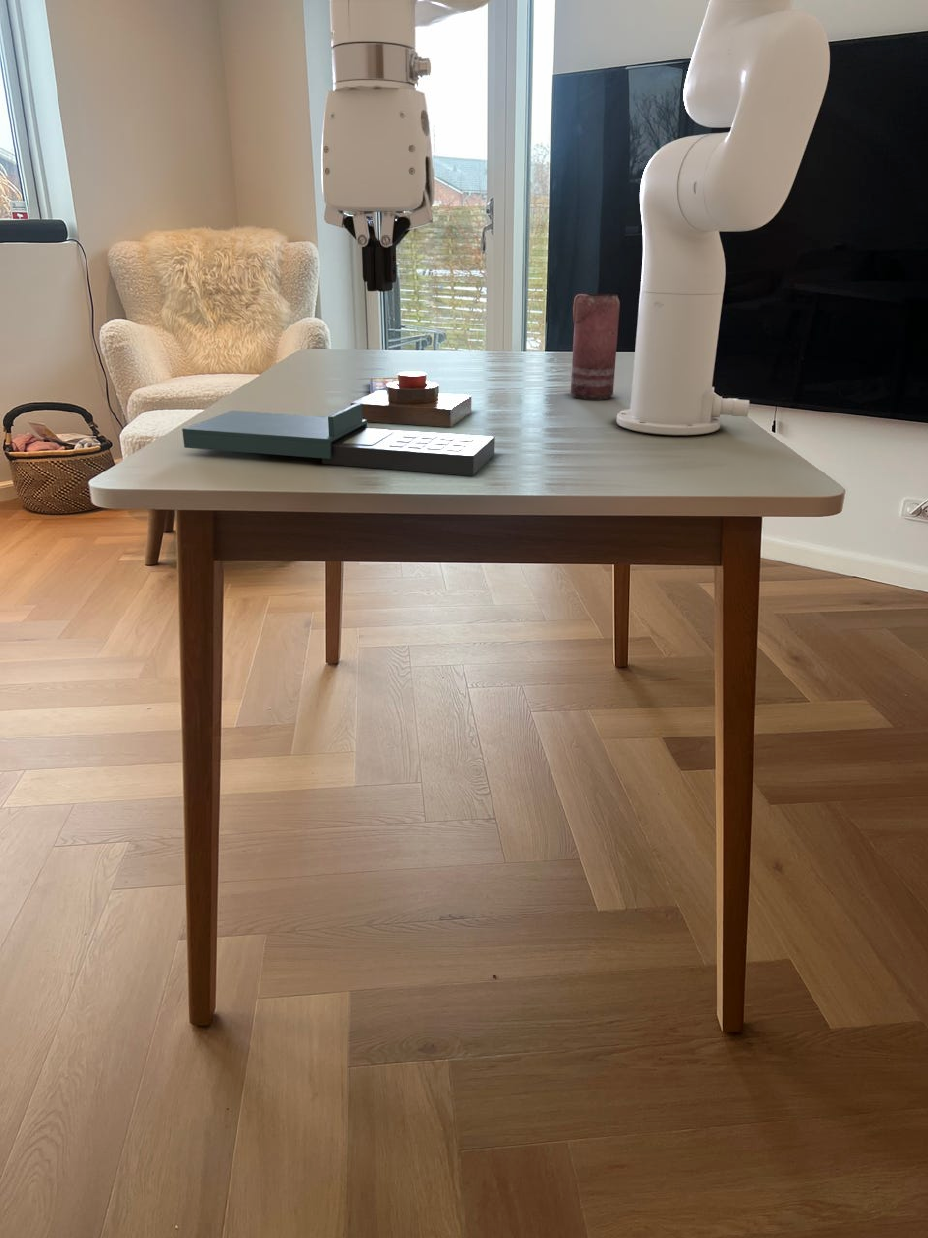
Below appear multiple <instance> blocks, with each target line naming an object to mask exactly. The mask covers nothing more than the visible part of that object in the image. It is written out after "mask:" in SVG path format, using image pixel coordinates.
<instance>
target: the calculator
mask: <svg viewBox="0 0 928 1238" xmlns="http://www.w3.org/2000/svg"><path fill="white" fill-rule="evenodd" d="M495 440H496V439H495V436H487V435H470V434H456V433H443V432H442V433H441V432H429V431H428V432H426V431H413V430H412V431H411V430H397V429H383V428H369V427H367V428H357V429H355V430H353V431H351V432H349V433H347V434H345V435H344V436H342V437H340V438H338V439H336V440H334V441H332V442H330V443H331V456H332V458H331V459H325V458H321V462H322V465H330V466H341V467H342V466H343V467H354V468H355V467H356V468H368V469H380V470H393V471H405V472H419V473H429V474H431V473H433V474H443V475H444V474H445V475H456V476H466V477H467V476H468V477H473V476H475V475H476V474H477V473H478V472H479V471H480V470H481V469H482V468H483V467H484V466H485V465H486V464H487V463H488V462H489V461H490V460H491V459H492V458H493V457H494V456H495V444H496V443H495V442H496V441H495Z"/></svg>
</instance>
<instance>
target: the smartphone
mask: <svg viewBox="0 0 928 1238" xmlns="http://www.w3.org/2000/svg"><path fill="white" fill-rule="evenodd" d="M391 382H398V377H379V378H378V377H376V378H375V377H374V378H370V379H369V389H370V394H372V393H374V392H376V391H378V390H382V391H386V384H389V383H391Z"/></svg>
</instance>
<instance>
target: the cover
mask: <svg viewBox="0 0 928 1238" xmlns="http://www.w3.org/2000/svg"><path fill="white" fill-rule="evenodd" d="M357 428H368V422H367V419H363V417H362V403H356V404H354V405H352V406H351V405H350V406H348V407H346V408H343V409H341V410H339V411H337V412H335V413H332V414H330V415H329V416H320V415H304V414H303V415H302V414H290V413H276V412H274V413H273V412H260V411H259V412H257V411H243V410H230V411H227V412H224V413H222V414H219V415H216V416H214V417H210V418H208V419H205V420H202V421H199V422H196V423H194V424H192V425H189V426H186V427H183V428H182V429H181V431H182V439H183V440H182V441H183V447H184V448H186V449H197V450H210V451H221V452H222V451H223V452H234V453H235V452H238V453H249V454H262V455H275V456H287V457H289V456H290V457H299V458H300V457H301V458H312V459H313V458H315V459H322V458H325V459H331V458H332V456H331V443H330V442H332V441H334V440H336V439H338V438H340V437H342V436H344V435H345V434H347V433H349V432H351V431H353V430H355V429H357Z"/></svg>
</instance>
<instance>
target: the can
mask: <svg viewBox="0 0 928 1238" xmlns="http://www.w3.org/2000/svg"><path fill="white" fill-rule="evenodd" d="M618 296H619V295H618V294H608V293H606V294H605V293H578V294H577V295H575V297H574V299H573V308H572V319H573V324H574V326H573V343H572V359H571V360H572V361H571V376H570V378H571V379H570V394H571V396H572V397H573V398H575V399H580V400H590V401H600V400H608V399H610V398H611V397H612V396H613V394H614V385H615V370H616V359H617V358H616V357H617V345H618V334H619V333H618V332H619V319H620V308H621V307H620V306H621V305H620V304H621V301H620V299H619V297H618Z"/></svg>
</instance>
